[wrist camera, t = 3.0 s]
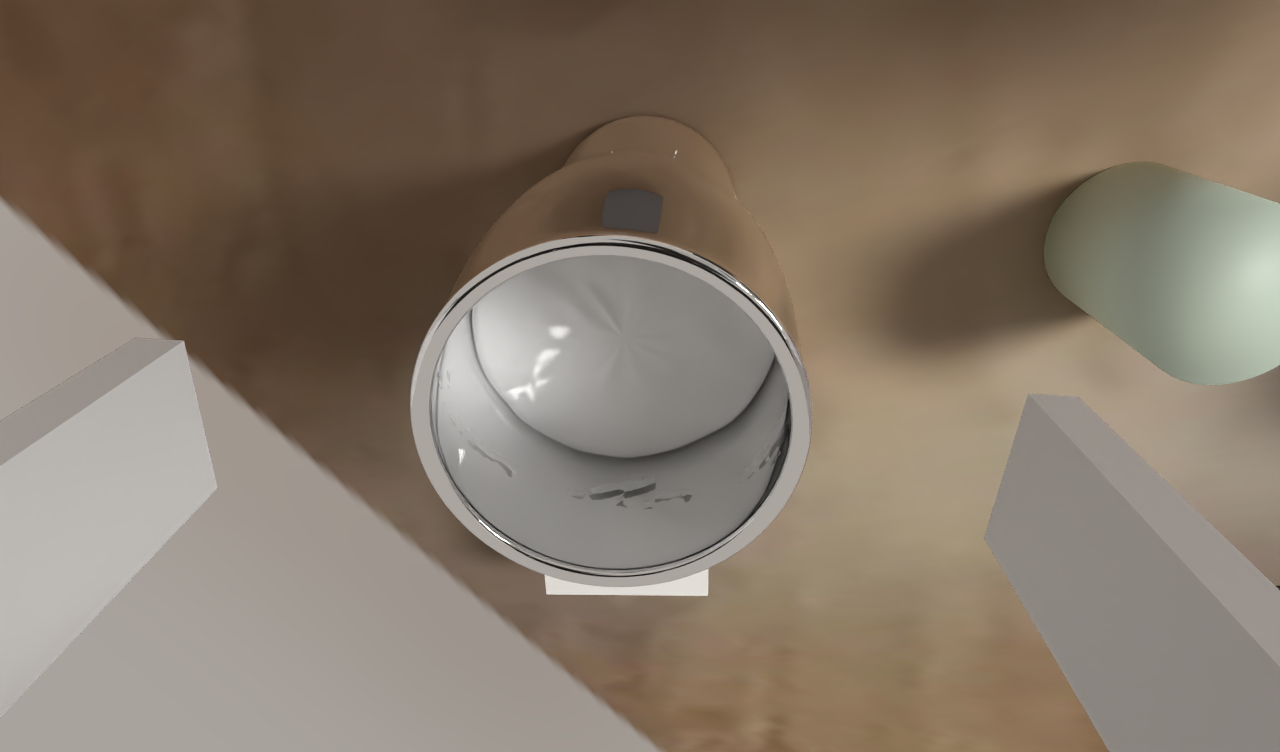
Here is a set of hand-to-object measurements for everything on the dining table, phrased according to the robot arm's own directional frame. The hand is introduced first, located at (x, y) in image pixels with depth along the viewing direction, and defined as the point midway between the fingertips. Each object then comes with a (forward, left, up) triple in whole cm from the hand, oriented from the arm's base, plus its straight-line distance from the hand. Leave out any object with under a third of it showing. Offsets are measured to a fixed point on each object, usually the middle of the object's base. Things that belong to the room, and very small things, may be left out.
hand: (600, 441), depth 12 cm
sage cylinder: (0, +16, -15) cm, 22 cm away
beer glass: (0, 0, -15) cm, 15 cm away
